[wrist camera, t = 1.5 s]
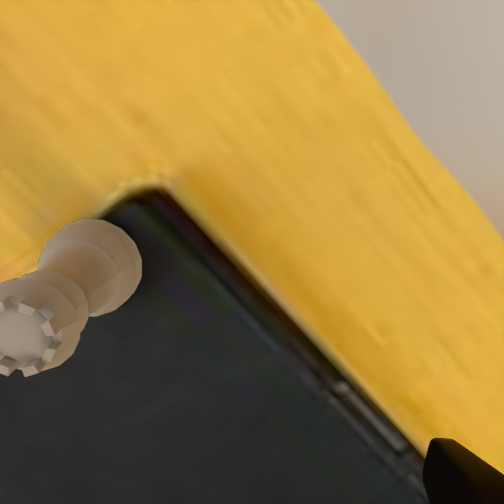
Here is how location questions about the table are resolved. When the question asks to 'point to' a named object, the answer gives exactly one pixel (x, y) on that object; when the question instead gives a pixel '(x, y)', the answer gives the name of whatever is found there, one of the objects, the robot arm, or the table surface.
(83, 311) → the rook chess piece
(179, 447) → the table surface
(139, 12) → the table surface
